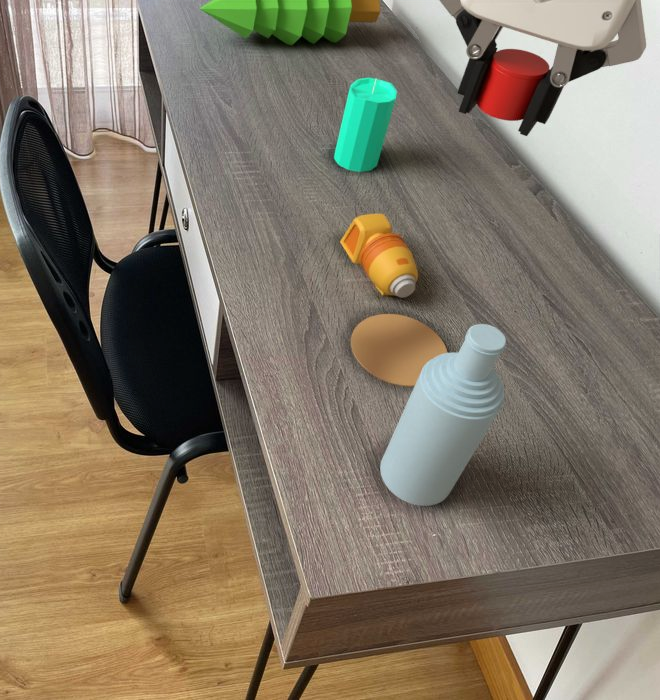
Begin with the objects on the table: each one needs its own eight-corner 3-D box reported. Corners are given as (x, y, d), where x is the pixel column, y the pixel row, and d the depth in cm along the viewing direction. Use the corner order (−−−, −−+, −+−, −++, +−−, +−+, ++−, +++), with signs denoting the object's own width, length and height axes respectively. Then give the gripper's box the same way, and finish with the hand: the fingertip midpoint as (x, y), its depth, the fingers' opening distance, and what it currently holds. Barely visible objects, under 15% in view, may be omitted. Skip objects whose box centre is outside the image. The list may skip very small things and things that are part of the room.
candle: (357, 145, 102) (378, 62, 93) (386, 167, 99) (410, 83, 90) (324, 156, 100) (342, 72, 91) (352, 179, 97) (374, 94, 88)
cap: (466, 105, 54) (482, 60, 52) (490, 87, 56) (507, 43, 54) (515, 127, 53) (535, 81, 50) (538, 108, 55) (558, 63, 52)
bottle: (460, 468, 67) (543, 328, 53) (436, 521, 63) (520, 385, 49) (394, 436, 69) (458, 293, 55) (368, 485, 65) (430, 344, 51)
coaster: (460, 345, 77) (462, 341, 77) (424, 405, 72) (426, 401, 71) (374, 304, 81) (375, 300, 80) (333, 358, 75) (334, 354, 75)
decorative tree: (393, -33, 115) (208, -34, 107) (385, 46, 120) (208, 51, 112) (359, -31, 124) (188, -31, 117) (353, 43, 129) (189, 47, 122)
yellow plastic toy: (421, 306, 81) (376, 236, 89) (436, 269, 77) (388, 199, 85) (377, 313, 80) (335, 242, 88) (390, 275, 76) (345, 204, 83)
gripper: (453, -198, 42) (375, 99, 55) (774, -130, 36) (599, 182, 50) (496, -218, 46) (413, 62, 60) (789, -160, 40) (624, 134, 54)
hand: (499, 114), depth 55 cm, fingers closed on cap, 3 cm apart
